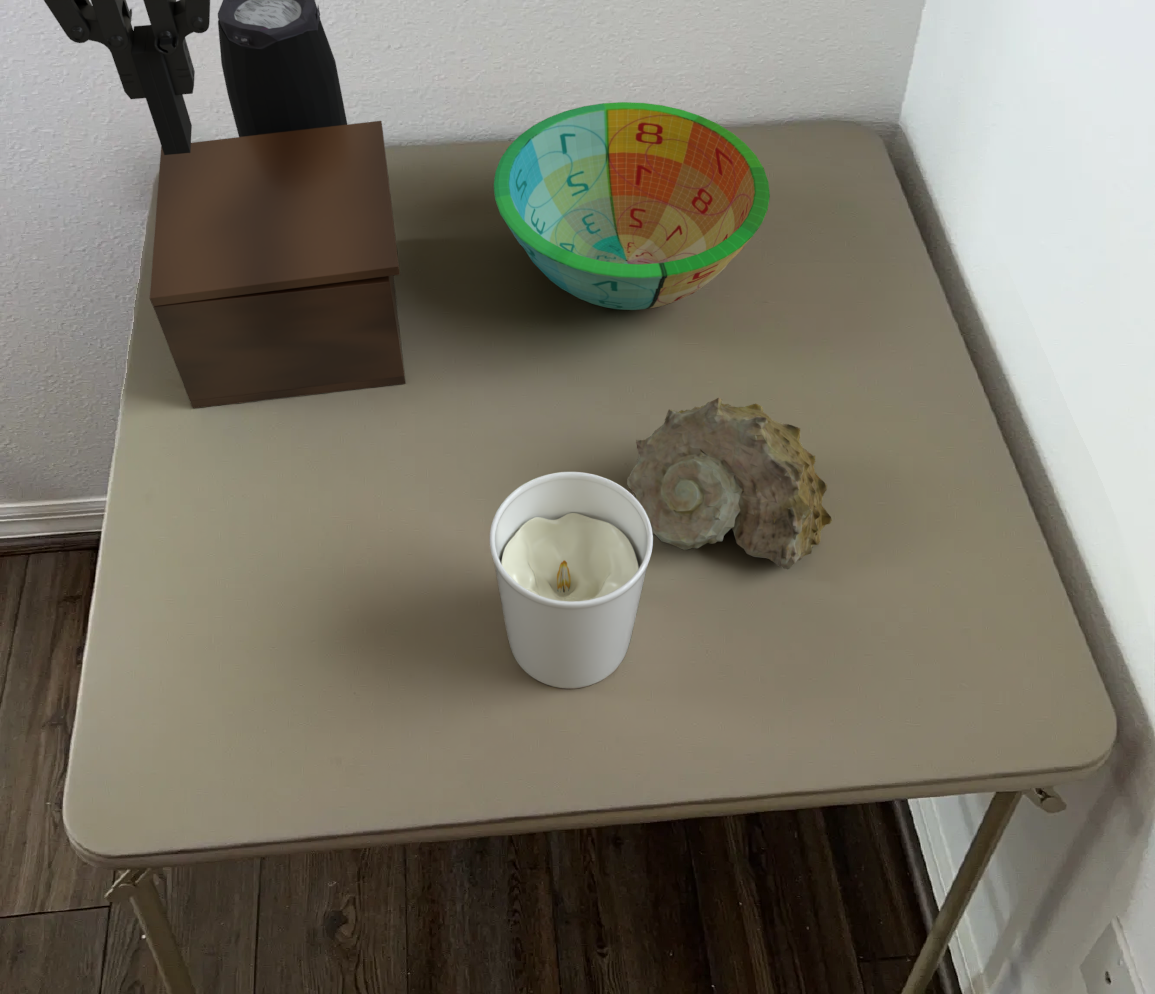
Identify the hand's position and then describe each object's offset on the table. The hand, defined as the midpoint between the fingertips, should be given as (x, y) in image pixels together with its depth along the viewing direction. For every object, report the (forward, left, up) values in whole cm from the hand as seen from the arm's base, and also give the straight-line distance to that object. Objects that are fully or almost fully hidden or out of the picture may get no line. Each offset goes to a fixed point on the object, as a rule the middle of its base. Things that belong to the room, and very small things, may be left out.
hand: (178, 139), depth 67 cm
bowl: (+31, +13, -27) cm, 43 cm away
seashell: (+33, -14, -27) cm, 45 cm away
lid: (+3, +12, -15) cm, 20 cm away
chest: (+2, +12, -26) cm, 29 cm away
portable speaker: (+4, +27, -27) cm, 38 cm away
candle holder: (+20, -22, -27) cm, 40 cm away
